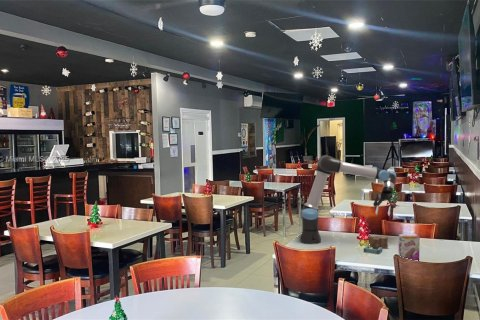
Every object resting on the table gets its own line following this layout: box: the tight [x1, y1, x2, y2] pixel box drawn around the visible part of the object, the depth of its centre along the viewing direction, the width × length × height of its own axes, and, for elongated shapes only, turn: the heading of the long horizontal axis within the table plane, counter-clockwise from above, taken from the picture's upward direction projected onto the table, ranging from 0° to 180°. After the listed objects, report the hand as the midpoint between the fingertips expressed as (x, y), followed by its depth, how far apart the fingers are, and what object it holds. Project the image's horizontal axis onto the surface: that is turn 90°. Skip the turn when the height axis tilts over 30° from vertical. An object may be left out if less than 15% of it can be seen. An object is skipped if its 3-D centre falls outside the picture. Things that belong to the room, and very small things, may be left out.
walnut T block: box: [368, 235, 389, 250], centre depth 285 cm, size 12×10×7 cm
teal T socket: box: [363, 245, 383, 255], centre depth 277 cm, size 10×8×2 cm
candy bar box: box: [398, 233, 420, 262], centre depth 253 cm, size 11×5×16 cm, turn 84°
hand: (382, 214), depth 297 cm, fingers open, 8 cm apart
